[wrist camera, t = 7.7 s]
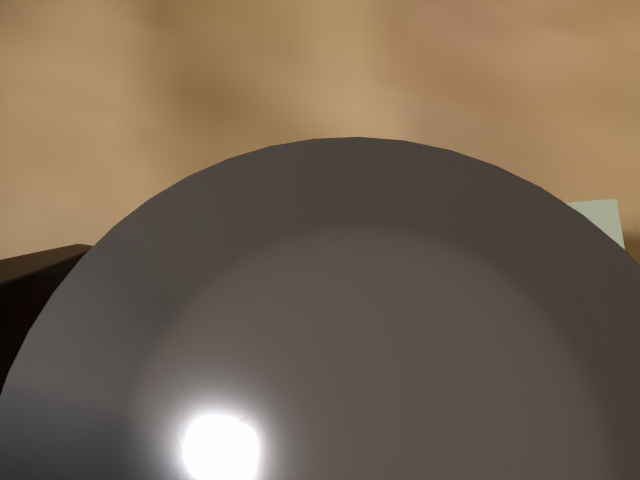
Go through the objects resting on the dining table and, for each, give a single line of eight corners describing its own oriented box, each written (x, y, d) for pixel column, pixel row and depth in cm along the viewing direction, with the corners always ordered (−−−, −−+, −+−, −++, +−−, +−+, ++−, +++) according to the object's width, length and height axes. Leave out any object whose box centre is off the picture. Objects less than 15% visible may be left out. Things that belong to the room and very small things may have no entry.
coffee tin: (503, 506, 15) (865, 1036, 3) (293, 512, 16) (-54, 965, 4) (479, 293, 16) (681, 100, 4) (285, 307, 17) (-4, 172, 5)
